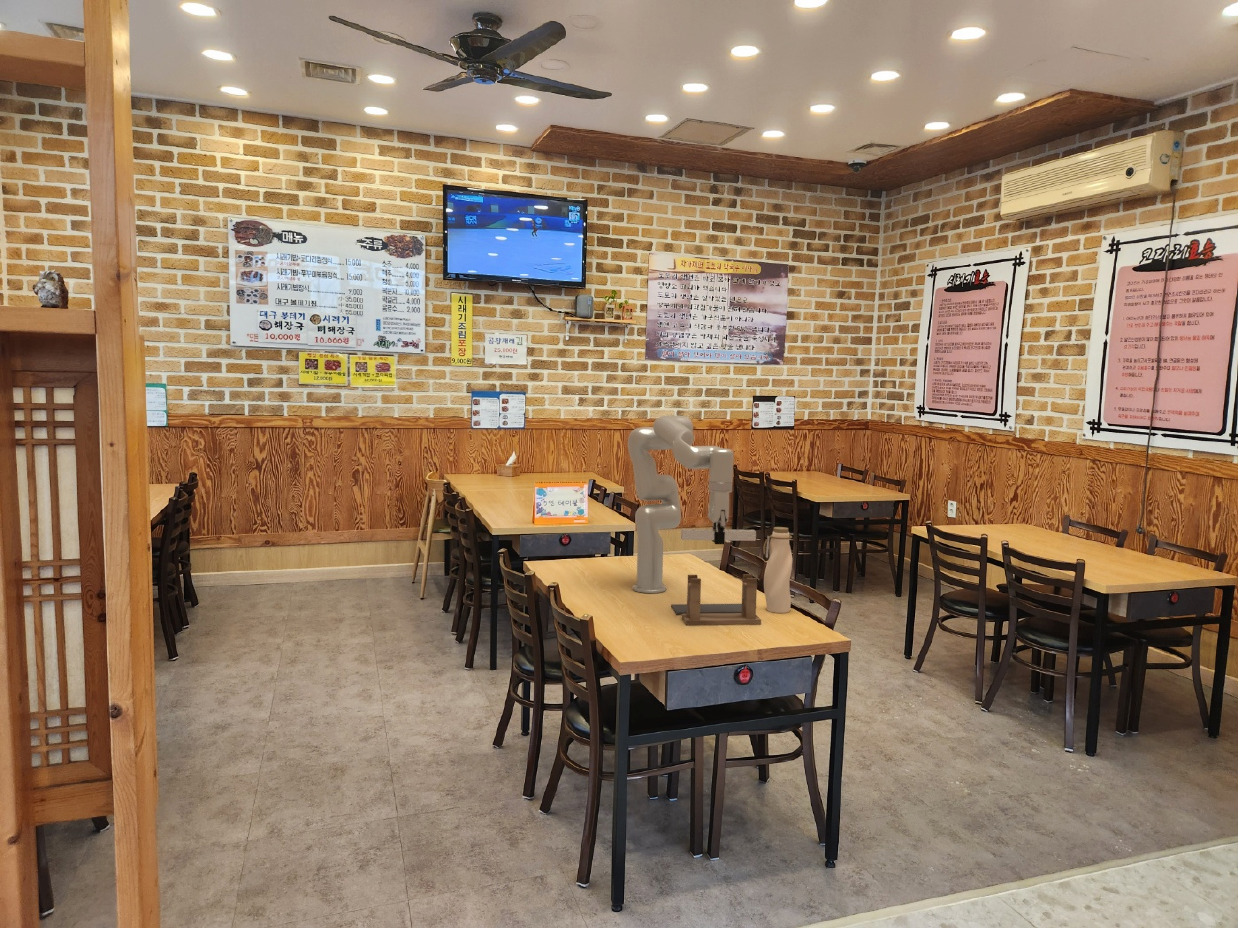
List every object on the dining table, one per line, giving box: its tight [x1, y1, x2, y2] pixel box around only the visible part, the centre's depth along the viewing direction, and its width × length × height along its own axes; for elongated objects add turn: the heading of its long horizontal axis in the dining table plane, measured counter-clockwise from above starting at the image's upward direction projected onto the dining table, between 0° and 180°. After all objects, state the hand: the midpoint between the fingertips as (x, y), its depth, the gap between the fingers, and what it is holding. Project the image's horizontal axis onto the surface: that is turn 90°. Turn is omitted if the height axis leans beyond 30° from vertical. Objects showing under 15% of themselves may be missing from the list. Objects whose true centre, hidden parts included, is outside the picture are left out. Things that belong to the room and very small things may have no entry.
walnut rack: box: [681, 573, 762, 626], centre depth 252 cm, size 8×24×14 cm, turn 96°
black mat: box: [670, 603, 742, 616], centre depth 266 cm, size 10×26×1 cm, turn 96°
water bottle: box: [762, 526, 794, 614], centre depth 266 cm, size 10×9×28 cm
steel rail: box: [680, 528, 757, 542], centre depth 257 cm, size 3×24×3 cm, turn 95°
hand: (718, 542), depth 257 cm, fingers closed on steel rail, 3 cm apart
